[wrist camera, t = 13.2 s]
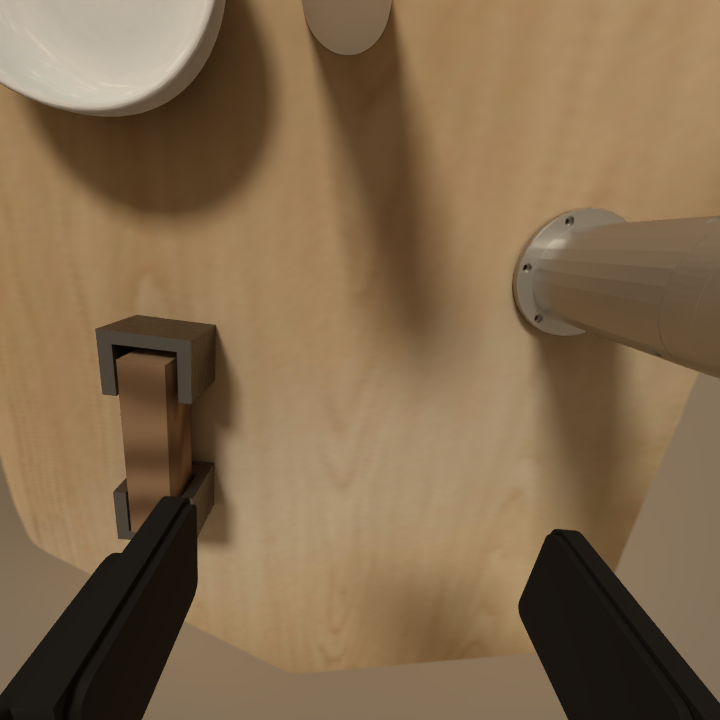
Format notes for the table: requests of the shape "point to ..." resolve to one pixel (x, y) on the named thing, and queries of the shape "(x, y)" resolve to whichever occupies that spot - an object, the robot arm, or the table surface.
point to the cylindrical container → (347, 23)
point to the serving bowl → (105, 51)
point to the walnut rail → (153, 430)
